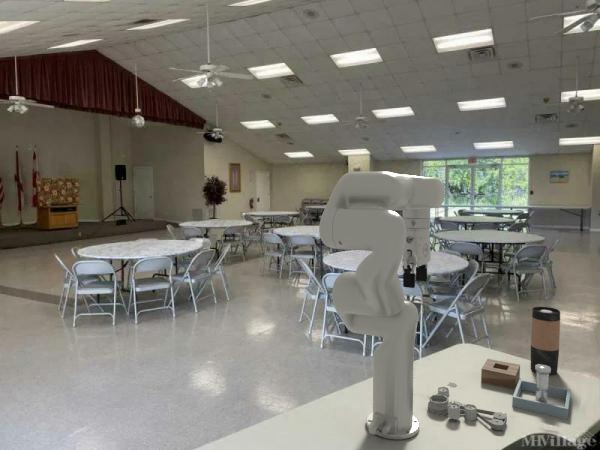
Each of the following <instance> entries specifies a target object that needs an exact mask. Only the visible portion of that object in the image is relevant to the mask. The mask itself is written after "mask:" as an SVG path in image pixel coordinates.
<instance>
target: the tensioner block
mask: <svg viewBox="0 0 600 450" xmlns="http://www.w3.org/2000/svg"><path fill="white" fill-rule="evenodd" d="M480 371H481V374H480V382H481V383H483V384H487V385H492V386H495V387H501V388H506V389H511V390H514V391H515V389H516V387H517V384H518V382H519V379H520V376H521V365H520V364H518V363H512V362H507V361H502V360H497V359H492V358H487V359H486V360H485V362H484V364H483V365H482V367H481V370H480Z"/></svg>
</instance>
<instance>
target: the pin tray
mask: <svg viewBox="0 0 600 450" xmlns="http://www.w3.org/2000/svg"><path fill="white" fill-rule="evenodd" d="M522 391H526V392H532V393H535V394H536V381H529V380H523V379H520V378H519V381H518V383H517V386H516V389H515V390H514V392H513V395H512V400H511V402H512V403H511V407H514V408H519V409H523V410H527V411H532V412H536V413H538V414H539V413H540V414H544V415H548V416H551V417H556V418H561V419H566V420H568V417H569V410H570V402H571V389H569V388H565V387H559V386H554V385H549V384H548V397H549V396H550V397H553V398H554V397H555V398H558V399H559V398H560V399H565V403H564V406H561V405H557V404H552V403H544V402H539V401H536V399H535V400H534V399H529V398H524V397H521V396H520V395H521V392H522Z"/></svg>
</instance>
